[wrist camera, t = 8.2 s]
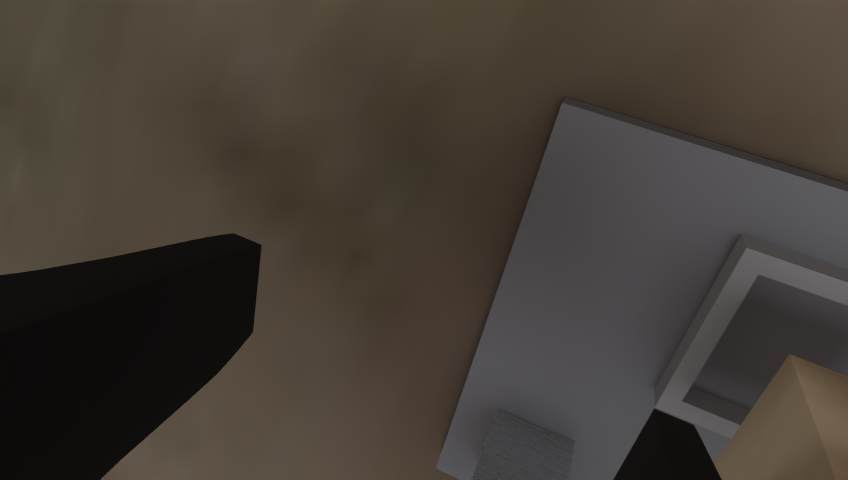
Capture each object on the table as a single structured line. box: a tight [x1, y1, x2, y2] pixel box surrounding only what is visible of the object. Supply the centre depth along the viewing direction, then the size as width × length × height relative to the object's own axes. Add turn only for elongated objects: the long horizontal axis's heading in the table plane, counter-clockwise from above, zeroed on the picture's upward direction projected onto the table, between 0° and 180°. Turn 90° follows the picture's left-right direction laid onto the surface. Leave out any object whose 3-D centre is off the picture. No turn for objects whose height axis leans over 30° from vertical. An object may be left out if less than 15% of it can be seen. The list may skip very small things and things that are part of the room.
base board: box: [436, 97, 848, 480], centre depth 19 cm, size 16×16×2 cm
